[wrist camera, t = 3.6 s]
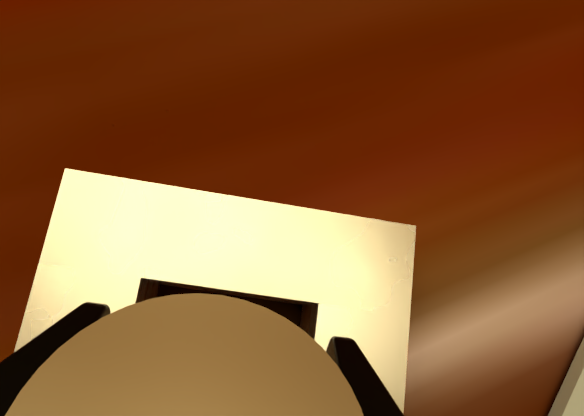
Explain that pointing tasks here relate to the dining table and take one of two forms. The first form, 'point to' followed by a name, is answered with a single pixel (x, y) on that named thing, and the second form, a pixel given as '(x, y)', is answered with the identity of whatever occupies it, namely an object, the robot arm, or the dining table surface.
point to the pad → (571, 389)
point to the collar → (227, 261)
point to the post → (189, 365)
